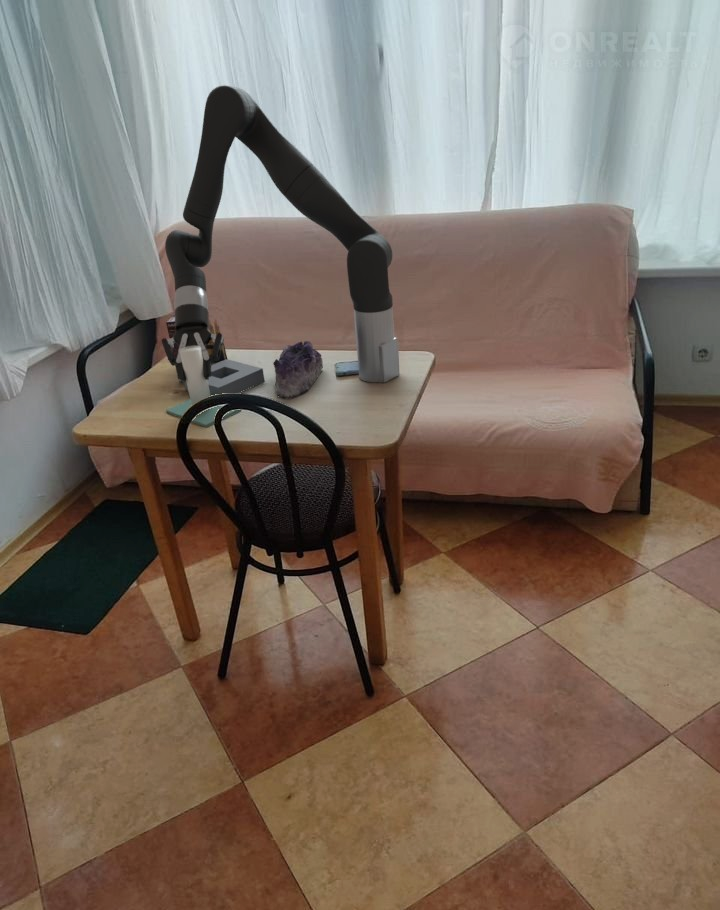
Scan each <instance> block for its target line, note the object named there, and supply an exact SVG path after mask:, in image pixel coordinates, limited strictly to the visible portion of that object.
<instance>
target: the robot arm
mask: <svg viewBox="0 0 720 910" xmlns="http://www.w3.org/2000/svg"><path fill="white" fill-rule="evenodd" d="M202 122H203V123H202V130H201V136H200V137H201V138H200V142H199V149H198V155H197V161H196V164H195V169H194V173H193V177H192V181H191V184H190V188H189V190H188V194H187V197H186V202H185V205H184V207H183V212H182V218H183V220H184V221H185V222H186V223H187V224H188V225H190V226H192V227H194V228H196V229H198V235H196V234H193V233H189V232H187V231H183V230H178V229H177V230H173V231H171V232H169V233H168V235H167V236H166V238H165V243H164V246H165V247H164V248H165V249H164V250H165V254H166V257H167V261H168V264H169V266H170V268H171V271H172V275H173V278H174V300H173V301H174V302H173V303H174V305H173V306H174V315H175V334H174V336H173V338H166V337H163V338H161V344H162V347H163V351H165V355H166V358H167V361H168V362H169V363H170V365H171V366H175V365H176V366H177V371H176V374H177V375H176V376H177V379H178V378H179V379H180V380H181V381H182V383H184V382H186V378H185V373H184V369H183V365H182V360H181V356H180V351H179V350H180V349H181V348H183V347H186V346H192V345H197V346H200V347H201V351H202V355H203V358H204V361H203V372H204V378H205V380H208V379H209V377H211V375H212V374H211V365H212V362H214V361H219V358H220V354H221V350H222V346H223V343H224V342H225V341H224V340H225V339H224V337H223V334H222V332H220V333H217V334H211V332H210V330H209V319H210V315H209V314H210V313H209V311H210V307H209V300H208V294H207V282H206V281H207V279H206V274H205V272H204V271H203V270H202V269H200V268H203V267H206V266H207V265H208V264H209V262H210V261H211V258H212V256H213V255H212V252H213V251H212V250H213V230H214V222H215V220H216V216H217V213H218V210H219V206H220V203H221V199H222V196H223V192H224V191H223V190H224V180H225V178H224V177H225V168H226V163H227V158H228V155H229V152H230V149H231V147H232V145H233V142H234V141H235V138H236V139H237V140H239V141H240V142H241V143H242V144H243V145H244V146H245V147H246V148H247V149H248V150H250V152H252V154H254V155H255V156H256V157H257V158H258V160H259V161H260V162H261V164H262V166H263V167H264V169H265V170H266V172H267V174H268V176H269V178H271V181H272V182H273V184H274V185H275V187H276V189H277V190H279V192H280V193H281V194H282V196H283V197H284V198H285V199H286V200H287V201H288V202H289V203H290V204H291V205H292V206H293V207H294V208H295V209H296V210H297V211H298V212H300V213H301V214H302V215H303V216H304V217H306V218H307V219H309V220H310V221H312V223H315V225H316V224H317V225H318V226H320V227H321V228H322V229H325V230H326V231H327V232H328V233H329V232H330V233H331V235H332V236H334V237H335V238H336V239H337V240H338V241H339V242H340V243H341V245H343V247H345V249H346V250H347V255H346V269H347V271H346V272H347V278H348V279H347V280H348V288H349V296H350V299H351V302H352V304H353V305H352V306H353V317H354V318H353V319H354V330H355V341H356V354H357V355H356V356H357V364H358V376H359V379H360V380H362V381H364V382H367V383H387V382H389V381H391V380H392V379H394V378H396V377H398V376H400V374H401V373H400V356H399V353H400V352H399V338H398V337H395V326H394V309H393V308H394V307H393V304H394V303H393V295H392V294H391V291H390V285H389V270H388V268H389V267H390V265H391V263H392V261H393V250H392V246H391V244H390V242H389V241H388V239H386V238H385V236H384V235H382V234H381V233H380V232H379V231H377V230H376V229H375V228H374V227H373V226H372V225H370V224H369V223H368V222H367V221H366V220H365V219H364V218H363V217H361V216H360V215H359V214H358V213H357V212H356V211H355V210H354V209H353V208H352V207H351V205H350V204H349V203H348V201H347V200H346V199H345V198H344V197H343V196H342V195H341V193H340V192H339V191H338V190H337V189H336V188H335V187H334V186H333V185H332V183H330V181H329V180H328V179H327V178H326V177H325V176H324V174H323V173H322V172H321V171H320V170H319V169H318V168H317V167H316V166H315V165H314V164H313V163H312V161H310V159H308V157H306V156H305V155H304V154H303V153H302V152H301V151H300V150H299V149H298V148H297V147H296V146H295V145H294V144H293V143H291V142H290V141H289V140H288V139H287V138H286V137H285V136H284V135H283V134H282V133H281V132H280V131H279V130H278V128H276V127H275V125H274V124H273V123H272V121H270V119H269V118H268V117H267V115H266V114H265V112H264V111H263V110H262V109H261V108H260V106H259V104H258V103H257V102H256V100H254V98H253V97H252V96H251V94H249V93H248V92H247V91H246V90H244V89H243V88H240V87H238V86H233V85H227V84H223V85H219V86H216V87H214V88H213V89H212V90H211V91H210V92H209V93H208V96H207V97H206V101H205V105H204V112H203V121H202ZM211 339H213V343H214V347H213V351H212V354H210V355H209V354H208V352H207V350H206V346H207V345H208V343H209V342H210V340H211ZM174 343H177V344H178V346H179V350H178V356H177V358H174V355H173V352H172V349H173V347H174ZM176 366H175V367H176Z"/></svg>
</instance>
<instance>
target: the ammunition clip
mask: <svg viewBox="0 0 720 910" xmlns="http://www.w3.org/2000/svg"><path fill="white" fill-rule="evenodd" d="M209 330H210V332H211V334H217V333H221V329H220V326H219V323H218V320H217V319H214V325H213V323H212V320H211V319H210V318H209ZM213 347H214V343H213V339H211V340H210V342H209V343H208V345H207V346H206V350H207V352H208V354H209V355H210V354H212V351H213ZM202 356H203V355H202ZM226 359H228V356H227V351H226V346H225V343H224V342H223V346H222V350H221V354H220V358H219V361H214V362H212V363H213V364H216V363H218V362H221V361H223V360H226ZM203 361H204V358H203ZM212 363H211V364H212Z"/></svg>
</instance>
